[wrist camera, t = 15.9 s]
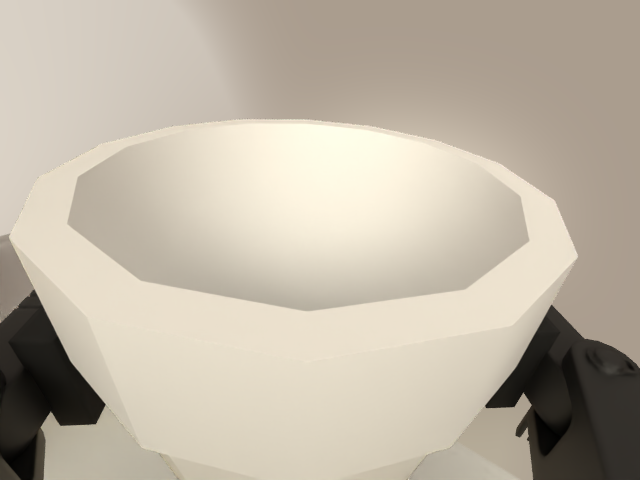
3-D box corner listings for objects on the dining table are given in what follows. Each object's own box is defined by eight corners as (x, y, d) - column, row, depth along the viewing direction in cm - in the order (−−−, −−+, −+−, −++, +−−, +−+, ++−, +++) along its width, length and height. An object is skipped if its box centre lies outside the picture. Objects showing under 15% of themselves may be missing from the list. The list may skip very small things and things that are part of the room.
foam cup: (408, 397, 17) (493, 139, 10) (419, 702, 9) (819, 467, 2) (232, 360, 18) (202, 108, 11) (109, 599, 10) (-215, 254, 4)
